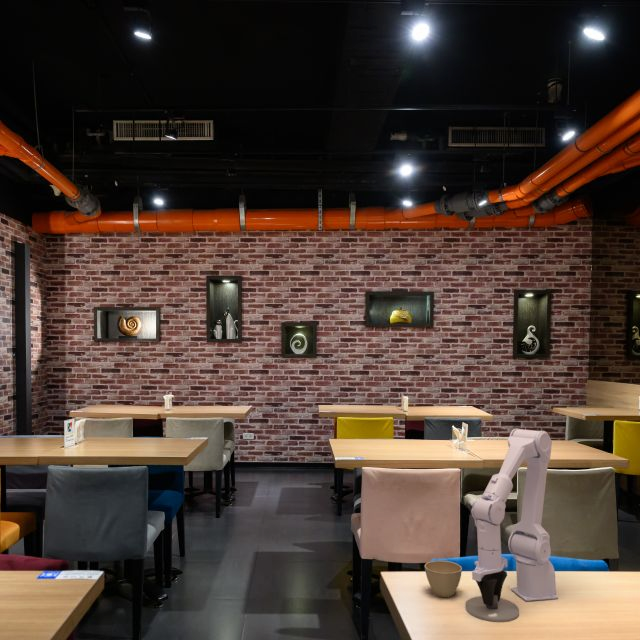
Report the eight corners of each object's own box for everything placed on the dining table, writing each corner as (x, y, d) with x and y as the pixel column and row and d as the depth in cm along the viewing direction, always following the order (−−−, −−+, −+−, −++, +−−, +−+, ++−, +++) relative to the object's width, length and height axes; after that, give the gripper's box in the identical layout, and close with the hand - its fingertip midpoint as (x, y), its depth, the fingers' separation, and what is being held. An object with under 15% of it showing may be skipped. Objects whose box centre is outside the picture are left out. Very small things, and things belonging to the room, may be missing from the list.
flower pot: (464, 602, 139) (462, 574, 140) (425, 599, 141) (424, 571, 142) (461, 587, 149) (460, 561, 150) (425, 585, 151) (424, 559, 152)
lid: (502, 597, 142) (502, 582, 142) (529, 619, 129) (528, 603, 130) (457, 601, 140) (456, 586, 140) (479, 624, 127) (479, 607, 128)
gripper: (489, 537, 144) (491, 589, 143) (460, 550, 134) (462, 606, 133) (513, 543, 139) (516, 597, 138) (486, 556, 129) (488, 615, 128)
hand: (491, 602), depth 135 cm, fingers closed on lid, 3 cm apart
